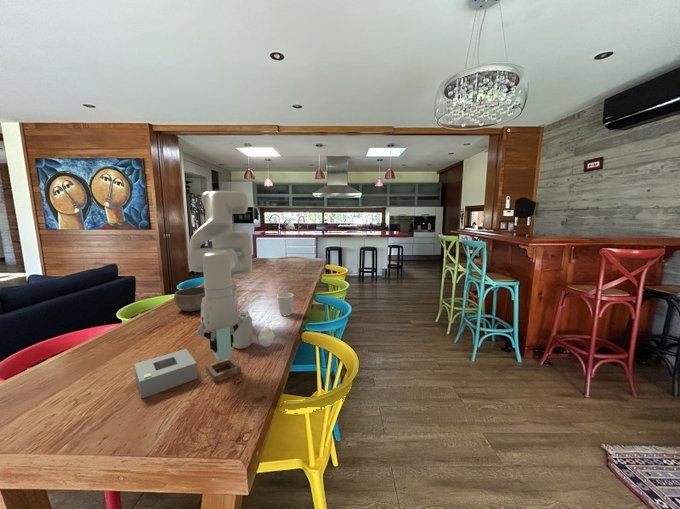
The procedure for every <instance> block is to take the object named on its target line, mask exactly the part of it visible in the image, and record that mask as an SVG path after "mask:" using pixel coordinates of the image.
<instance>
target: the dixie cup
mask: <svg viewBox="0 0 680 509" xmlns="http://www.w3.org/2000/svg"><path fill="white" fill-rule="evenodd" d="M276 297H277V304H278V305H277V306H278V310H279V311H278V312H279V315H280V314H281V315H288V314H291V315H292V312H293V302H294V294H293V293H292V292H282V293H278V294H277V295H276ZM281 315H280V316H281Z"/></svg>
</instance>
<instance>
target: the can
mask: <svg viewBox="0 0 680 509" xmlns="http://www.w3.org/2000/svg"><path fill="white" fill-rule="evenodd" d="M238 315H239V316H240V318H241V319H242V320H243V323H242V324H241V325H240V326H238V328H237V330H236V331H235V334H234V335H233V339H234V343H232V345H233V347H234V348H235V349H240V350H241V349H242V350H243V349H246V348H248V347H250V346H251V345H252V344H253V342H254V341H253V324H252V323H253V321H252V317H251V316H250V313H249V314H248V313H238ZM233 347H232V348H233Z"/></svg>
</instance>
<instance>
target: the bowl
mask: <svg viewBox="0 0 680 509" xmlns="http://www.w3.org/2000/svg"><path fill="white" fill-rule="evenodd" d="M203 297H205V286H196V287H195V286H192V287H187V288H183V289H179V290H177V291H175V292H174V296H173V299H174V304H175V305H176V306H177V308H178V309H180V310H181V311H183V312H196V311H201V304H202V298H203Z"/></svg>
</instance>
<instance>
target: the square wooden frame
mask: <svg viewBox="0 0 680 509" xmlns="http://www.w3.org/2000/svg"><path fill="white" fill-rule="evenodd" d="M226 367H230V368H228V369H226V370H222V371H220V372H218V373H217V371H218V370H220V369H223V368H226ZM205 372H206V373H207V375H208V376H209V378H210V379H211V380H212V382H213V383H214V384H215V383H216V384H217V383H218V382H221V381H223V380H227V379H229V378H230V377H231V378H232V377H234V376H236V375H239V374H241V373H242V367H241V365H240V364H239V363H238V362H237V361H236V360H235V359H234V358H233V357H232V356H231V357H228V358H225V359H223V360H220V361H218V360H217V361H216V362H214V363H213V362H212V363H210V364H207V365H205Z"/></svg>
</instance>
